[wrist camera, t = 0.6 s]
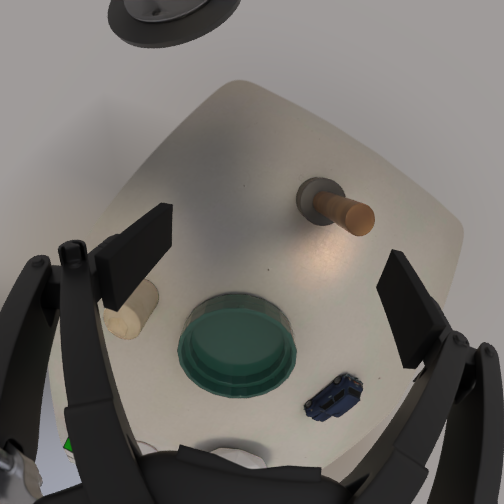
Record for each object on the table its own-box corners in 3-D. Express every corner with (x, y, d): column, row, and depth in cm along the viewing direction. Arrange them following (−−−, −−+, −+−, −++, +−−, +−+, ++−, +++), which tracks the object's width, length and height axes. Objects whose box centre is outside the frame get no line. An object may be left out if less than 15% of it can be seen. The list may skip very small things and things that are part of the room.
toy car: (301, 405, 47) (305, 426, 42) (345, 368, 45) (354, 388, 39) (321, 414, 48) (326, 434, 43) (364, 379, 46) (373, 398, 40)
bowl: (163, 328, 42) (154, 346, 37) (248, 269, 39) (248, 284, 34) (230, 391, 46) (228, 410, 41) (311, 346, 43) (317, 365, 38)
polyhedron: (235, 423, 58) (270, 455, 40) (264, 473, 56) (301, 508, 38) (167, 452, 50) (179, 496, 32) (203, 501, 48) (226, 545, 30)
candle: (164, 306, 40) (144, 342, 31) (135, 312, 41) (111, 348, 31) (150, 273, 39) (124, 304, 29) (121, 282, 39) (91, 312, 30)
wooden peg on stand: (287, 194, 36) (312, 211, 21) (323, 168, 35) (369, 170, 20) (312, 229, 37) (349, 267, 23) (346, 205, 36) (400, 228, 22)
